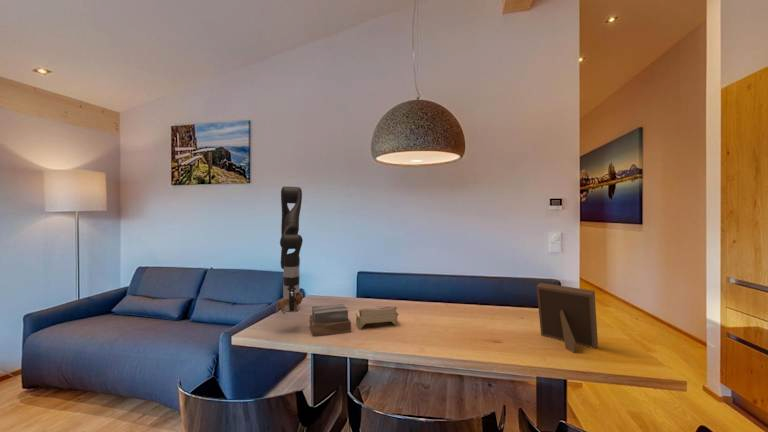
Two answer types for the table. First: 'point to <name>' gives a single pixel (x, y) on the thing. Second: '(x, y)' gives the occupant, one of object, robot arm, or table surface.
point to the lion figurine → (285, 302)
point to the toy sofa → (376, 316)
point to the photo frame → (568, 315)
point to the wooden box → (329, 320)
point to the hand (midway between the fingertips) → (291, 309)
